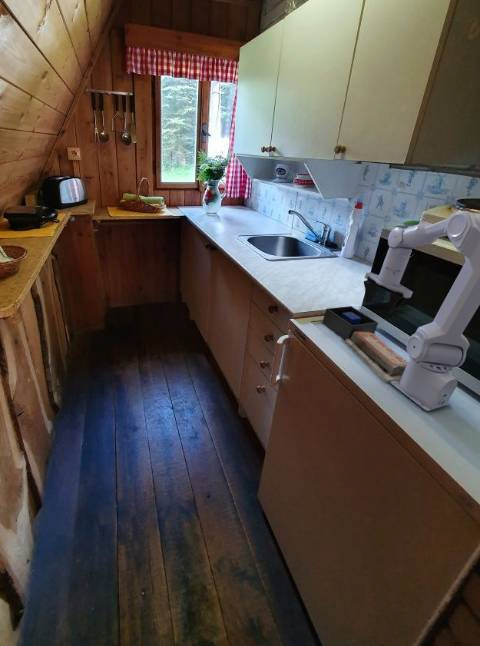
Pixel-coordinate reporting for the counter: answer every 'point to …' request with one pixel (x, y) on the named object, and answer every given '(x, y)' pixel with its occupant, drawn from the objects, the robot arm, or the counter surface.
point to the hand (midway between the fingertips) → (378, 307)
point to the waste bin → (345, 328)
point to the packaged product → (377, 356)
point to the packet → (351, 318)
